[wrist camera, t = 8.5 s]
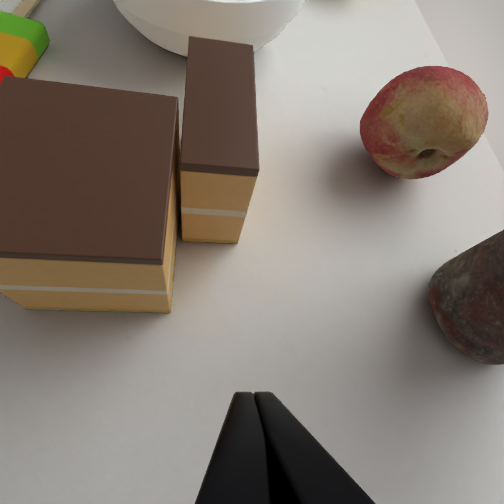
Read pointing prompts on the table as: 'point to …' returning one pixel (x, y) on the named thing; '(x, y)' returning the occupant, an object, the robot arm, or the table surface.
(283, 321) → the table surface
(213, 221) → the cake slice
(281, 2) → the bowl
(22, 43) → the popsicle
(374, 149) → the fruit
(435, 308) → the candle
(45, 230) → the cake
